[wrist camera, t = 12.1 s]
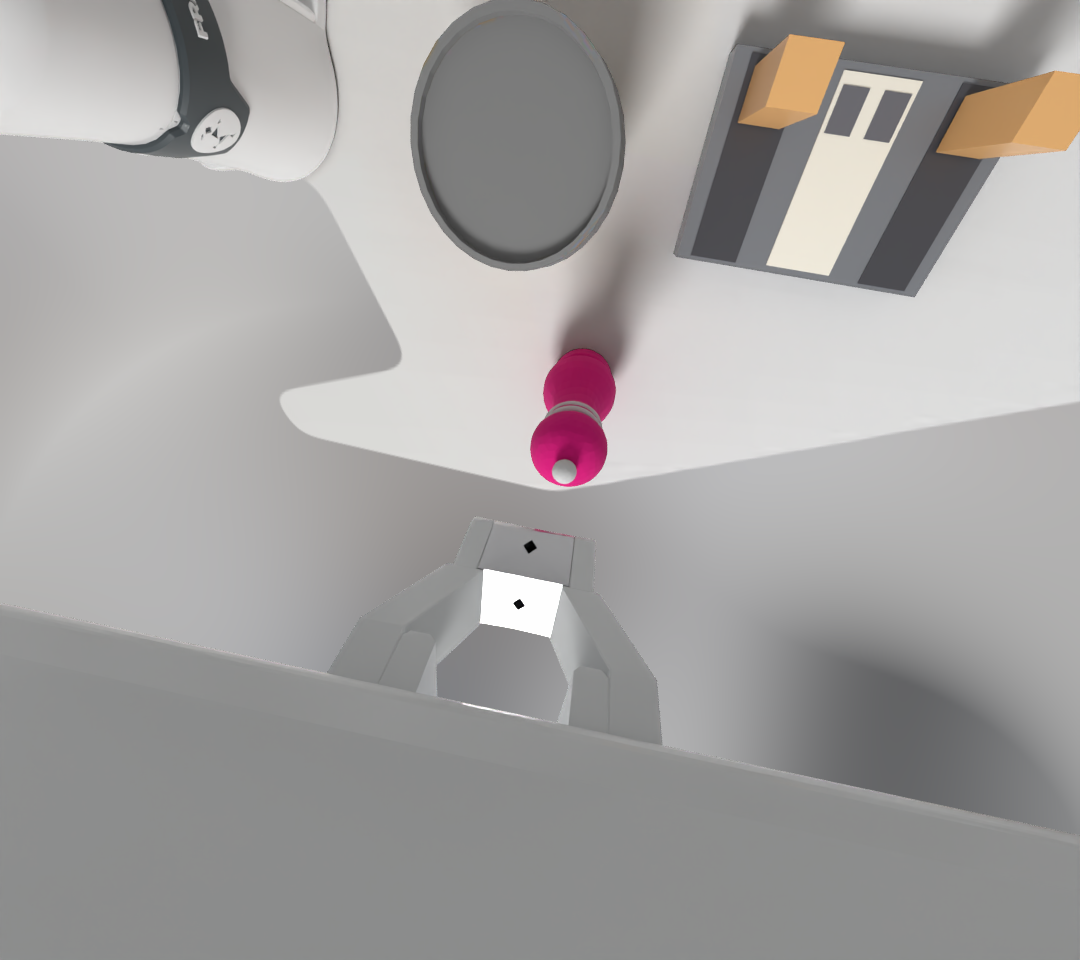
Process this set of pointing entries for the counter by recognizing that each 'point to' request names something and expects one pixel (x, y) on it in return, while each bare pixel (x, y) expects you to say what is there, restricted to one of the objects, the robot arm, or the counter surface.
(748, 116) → the slider
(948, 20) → the counter surface
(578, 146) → the reusable coffee cup
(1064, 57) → the counter surface
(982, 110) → the slider
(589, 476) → the pepper mill
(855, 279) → the switch panel
